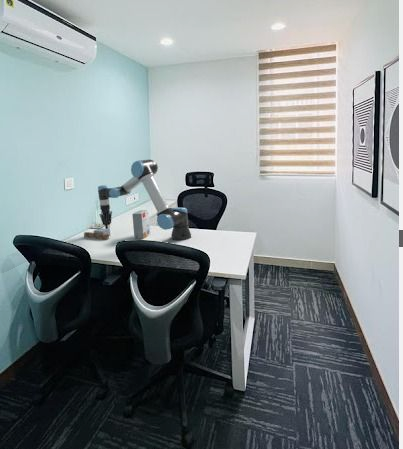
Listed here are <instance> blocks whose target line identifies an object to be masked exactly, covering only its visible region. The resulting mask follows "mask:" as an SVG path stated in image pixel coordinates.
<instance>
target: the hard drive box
mask: <svg viewBox="0 0 403 449" xmlns="http://www.w3.org/2000/svg"><path fill="white" fill-rule="evenodd" d="M149 214H150V213H149V209H139V210H137V211H135V212H133V213H132V226H133V237H134V240H138V239H139V240H142V239H143V240H144V239H145V238H147V237H148V236H149V235H150V234H151V227H150V215H149ZM146 236H147V237H146Z"/></svg>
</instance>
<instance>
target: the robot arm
mask: <svg viewBox="0 0 403 449" xmlns="http://www.w3.org/2000/svg"><path fill="white" fill-rule="evenodd" d="M158 168H159V166H158V163H157V162H156V161H155V160H153V159H143V160H136V161H133V163H132V164H131V168H130V172H131V175H132V177H131V178H130V179H129V180H128V181H126V182H125V183H124V184H122V185H121V186H116V187H108V186H107V184H106V185H105V184H104V185H98V186H97V192H98V198H99V199H98V200H99V208H100V211H101V213H99V217H100V220H101V223H102V225H103V226H104V227H105V228H104V229H110V228H111V226H110V225H111V224H112V214H113V211H111V210H110V208H111V206H110V199H111V198H112V199H117V198H119V197H123V196H128V195H130V194H131V192H132V191H133V190H134V189H135V188H137V187H138V186H139V185H140V184H143V186H144V189H145V190H146V193H147V194H148V196H149V198H150V200H151V202H152V203H153V206H154V208H155V210H156V216H157V217H156V223H157V226H158V227H159V228H161V229H162V230H171V229H172V231H171V235H170V236H171V237H170V238H171V239H172V240H175V241H184V240H189V239H191V237H192V233H191V229H190V228H189V218H188V217H189V216H188V209H187V208H186V207H172V206H169V205H168V203H167V201H166V200H165V196H163V194H162V192H161V190H160V187H159V186H158V184H157V182H156V180H155V178H154V176H155V174H157V172H158V170H159V169H158ZM110 230H111V229H110Z"/></svg>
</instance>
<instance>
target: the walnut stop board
mask: <svg viewBox="0 0 403 449" xmlns="http://www.w3.org/2000/svg"><path fill="white" fill-rule="evenodd" d="M83 236H84V238H85V239H94V240H95V239H96V240H105V241H107V240H110V236H109V234H102V233H94V232H89V231H85V232H83Z"/></svg>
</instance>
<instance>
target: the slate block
mask: <svg viewBox="0 0 403 449" xmlns="http://www.w3.org/2000/svg"><path fill="white" fill-rule="evenodd" d="M93 233H102V234H109V237H111V229H106V228H104V227H103V228H101V227H100V228H97V229H94V230H93Z"/></svg>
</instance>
